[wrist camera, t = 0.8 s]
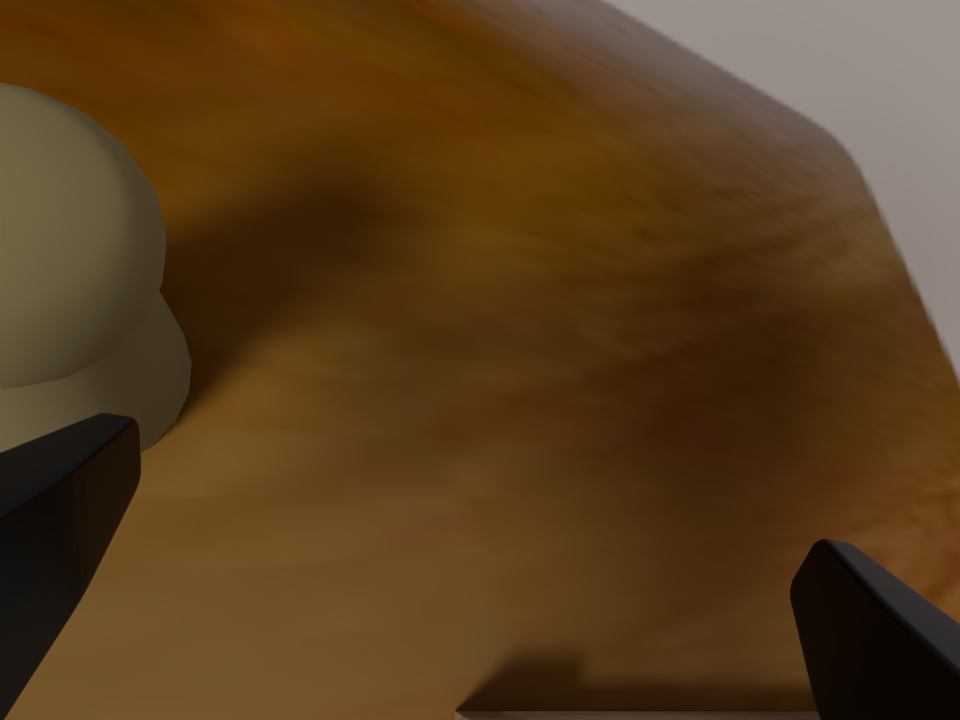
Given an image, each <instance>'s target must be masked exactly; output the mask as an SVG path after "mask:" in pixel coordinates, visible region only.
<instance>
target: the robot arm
mask: <svg viewBox="0 0 960 720" xmlns="http://www.w3.org/2000/svg"><path fill="white" fill-rule="evenodd" d="M140 475H141V454H140V429H139V425H138V422H137V421H136V420H135V419H134V418H132V417H128V416H122V415H116V414H111V413H99V414H96V415H94V416H91V417H89V418H86V419H84V420H81V421H78V422H76V423H73V424H71V425H68V426H66V427H63V428H61V429H58V430H56V431H53V432H51V433H48V434H46V435H43V436H41V437H38V438H36V439H33V440H31V441H28V442H26V443H23V444H21V445H18V446H15V447H13V448H10V449H8V450H5V451H3V452H0V720H4V719H5V717H6V716H7V714H8V713H9V711H10V709H11V708H12V706H13V705H14V703H15V702H16V700H17V699H18V697H19V696H20V694H21V692H22V691H23V689H24V688H25V686H26V685H27V683H28V682H29V680H30V678H31V677H32V675H33V674H34V672H35V671H36V669H37V668H38V666H39V665H40V663H41V661H42V660H43V658H44V657H45V655H46V654H47V652H48V651H49V649H50V647H51V646H52V644H53V643H54V641H55V640H56V638H57V637H58V635H59V634H60V632H61V630H62V629H63V627H64V626H65V624H66V623H67V621H68V620H69V618H70V616H71V615H72V613H73V612H74V610H75V608H76V607H77V605H78V603H79V602H80V600H81V599H82V597H83V595H84V593H85V591H86V590H87V588H88V586H89V584H90V582H91V580H92V578H93V576H94V574H95V572H96V570H97V568H98V566H99V564H100V562H101V560H102V558H103V556H104V554H105V552H106V550H107V548H108V546H109V544H110V542H111V540H112V538H113V536H114V534H115V532H116V530H117V528H118V526H119V524H120V522H121V520H122V518H123V516H124V514H125V512H126V510H127V508H128V506H129V504H130V502H131V500H132V498H133V496H134V494H135V492H136V489H137V487H138V484H139V480H140ZM790 599H791V604H792V608H793V613H794V617H795V621H796V625H797V630H798V634H799V638H800V642H801V647H802V651H803V655H804V659H805V664H806V668H807V672H808V676H809V681H810V685H811V689H812V693H813V697H814V701H815V704H816V708H817V711H818V714H819V718H820V720H960V624H959V623H958V622H956V621H955V620H954V619H952V618H951V617H950V616H948V615H947V614H946V613H944V612H943V611H942V610H940V609H939V608H938V607H936V606H935V605H934V604H932V603H931V602H929V601H928V600H927V599H925V598H924V597H923V596H921V595H920V594H919V593H917V592H916V591H915V590H913V589H912V588H911V587H909V586H908V585H907V584H905V583H904V582H902V581H901V580H900V579H898V578H897V577H896V576H894V575H893V574H892V573H890V572H889V571H888V570H886V569H885V568H884V567H882V566H881V565H880V564H878V563H877V562H875V561H874V560H873V559H871V558H870V557H869V556H867V555H866V554H865V553H863V552H862V551H861V550H859V549H858V548H857V547H855V546H854V545H852V544H849V543H845V542H840V541H834V540H828V539H822V540H819V541H817V542H816V543H814V545H813V546H812V548H811V549H810V551H809V553H808V554H807V556H806V558H805V560H804V561H803V563H802V565H801V567H800V568H799V570H798V572H797V573H796V575H795V577H794V579H793V581H792V584H791V588H790Z"/></svg>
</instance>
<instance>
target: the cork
mask: <svg viewBox="0 0 960 720" xmlns="http://www.w3.org/2000/svg"><path fill="white" fill-rule="evenodd" d="M166 245H167V243H166V229H165V226H164V222H163V218H162V215H161V211H160V207H159V203H158V200H157V196H156V192H155V190H154V189H153V187H152V186H151V184H150V183H149V181H148V180H147V178H146V177H145V176H144V174H143V173H142V171H141V170H140V168H139V167H138V165H137V164H136V162H135V161H134V160H133V158H132V157H131V155H130V154H129V152H128V151H127V149H126V148H125V147H124V145H123V144H122V142H120V141H119V140H118V139H117V138H115V137H114V136H113V135H112V134H111V133H109V132H108V131H107V130H106V129H104V128H103V127H102V126H101V125H99V124H98V123H97V122H96V121H94V120H93V119H92V118H91V117H89V116H88V115H87V114H86V113H84V112H82V111H80V110H78V109H76V108H73V107H71V106H69V105H67V104H64V103H62V102H60V101H58V100H56V99H53V98H51V97H49V96H47V95H44V94H42V93H40V92H38V91H35V90H32V89H29V88H26V87H21V86H16V85H11V84H6V83H1V82H0V452H3V451H5V450H8V449H10V448H13V447H15V446H18V445H21V444H23V443H26V442H28V441H31V440H33V439H36V438H38V437H41V436H43V435H46V434H48V433H51V432H53V431H56V430H58V429H61V428H63V427H66V426H68V425H71V424H73V423H76V422H78V421H81V420H84V419H86V418H89V417H91V416H94V415H96V414H99V413H111V414H116V415H122V416H128V417H132V418H134V419H135V420H136V421H137V422H138V425H139V429H140V453H141V452H143V451H145V450H146V449H148V448H150V447H151V446H153V445H154V444H155V443H156V442H157V441H158V440H159V439H160V438H161V437H162V435H163V434H164V433H165V432H166V431H167V430H168V429H169V428H170V427H171V426H172V425H173V424H174V423H175V421H176V420H177V418H178V416H179V413H180V411H181V409H182V407H183V405H184V403H185V400H186V398H187V396H188V394H189V389H190V378H191V368H192V361H191V357H190V354H189V350H188V346H187V342H186V339H185V335H184V333H183V331H182V329H181V328H180V326H179V324H178V322H177V321H176V319H175V317H174V315H173V314H172V312H171V310H170V308H169V307H168V305H167V303H166V301H165V300H164V298H163V296H162V295H161V293H160V291H159V290H160V288H161V286H162V282H163V273H164V264H165V255H166Z"/></svg>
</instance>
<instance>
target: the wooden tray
mask: <svg viewBox="0 0 960 720" xmlns="http://www.w3.org/2000/svg"><path fill="white" fill-rule="evenodd" d="M454 720H820V718H819V714H818V711H455V718H454Z"/></svg>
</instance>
